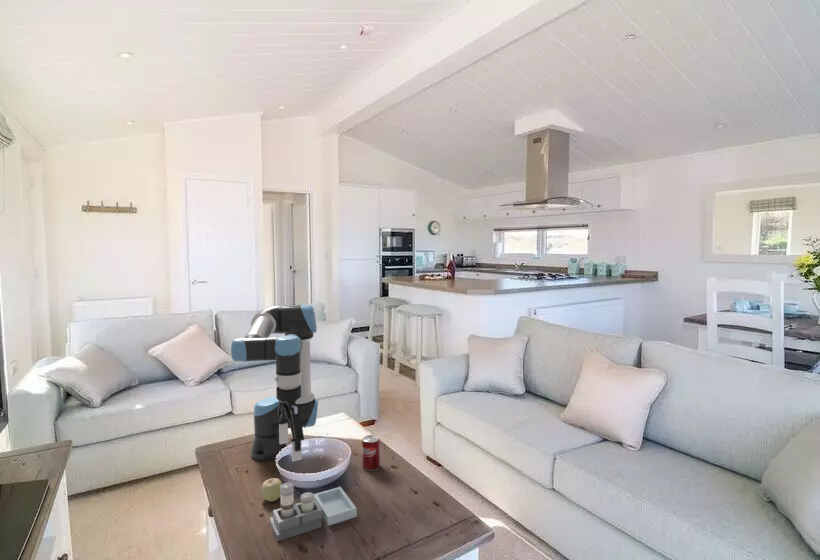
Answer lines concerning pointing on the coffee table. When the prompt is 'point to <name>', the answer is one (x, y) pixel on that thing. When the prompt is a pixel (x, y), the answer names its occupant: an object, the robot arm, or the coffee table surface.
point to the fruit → (271, 489)
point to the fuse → (287, 500)
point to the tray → (335, 506)
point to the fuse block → (298, 518)
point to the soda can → (371, 452)
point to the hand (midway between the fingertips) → (290, 451)
